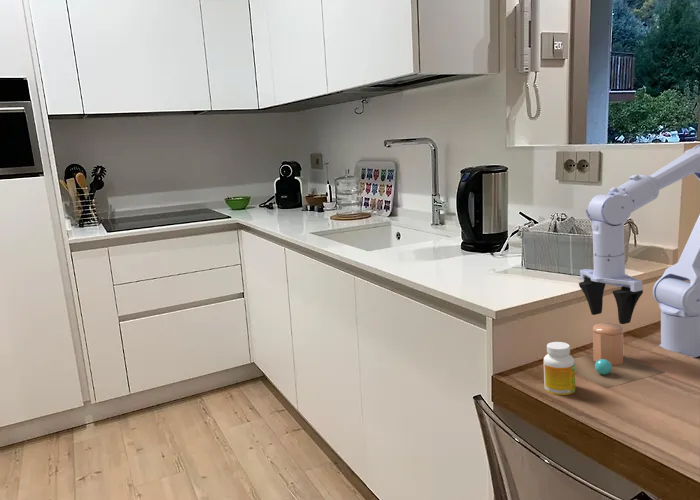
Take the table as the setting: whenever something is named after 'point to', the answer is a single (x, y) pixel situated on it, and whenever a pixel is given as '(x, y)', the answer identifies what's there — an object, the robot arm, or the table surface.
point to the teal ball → (603, 366)
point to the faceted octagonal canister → (608, 343)
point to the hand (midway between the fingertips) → (610, 318)
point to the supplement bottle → (559, 369)
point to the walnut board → (614, 371)
